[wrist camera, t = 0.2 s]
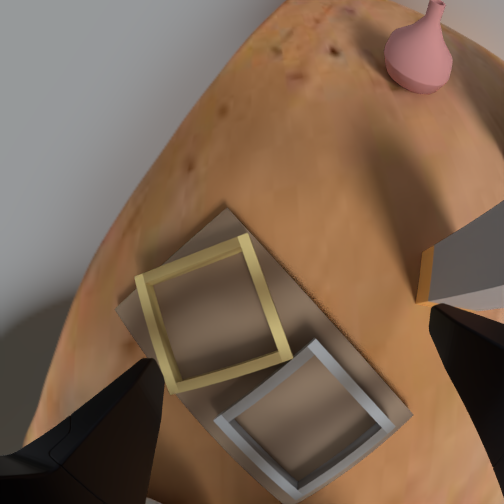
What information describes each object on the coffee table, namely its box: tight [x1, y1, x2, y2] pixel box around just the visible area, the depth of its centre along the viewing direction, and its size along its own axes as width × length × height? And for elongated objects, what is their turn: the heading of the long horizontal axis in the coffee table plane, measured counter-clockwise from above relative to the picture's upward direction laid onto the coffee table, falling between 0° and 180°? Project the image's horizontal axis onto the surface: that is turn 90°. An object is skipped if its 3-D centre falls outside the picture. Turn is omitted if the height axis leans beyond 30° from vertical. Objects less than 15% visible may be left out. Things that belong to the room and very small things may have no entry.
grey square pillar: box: [416, 200, 504, 312], centre depth 16 cm, size 4×5×12 cm
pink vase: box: [384, 0, 453, 94], centre depth 21 cm, size 8×8×12 cm
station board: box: [115, 208, 413, 504], centre depth 21 cm, size 23×13×2 cm, turn 41°
